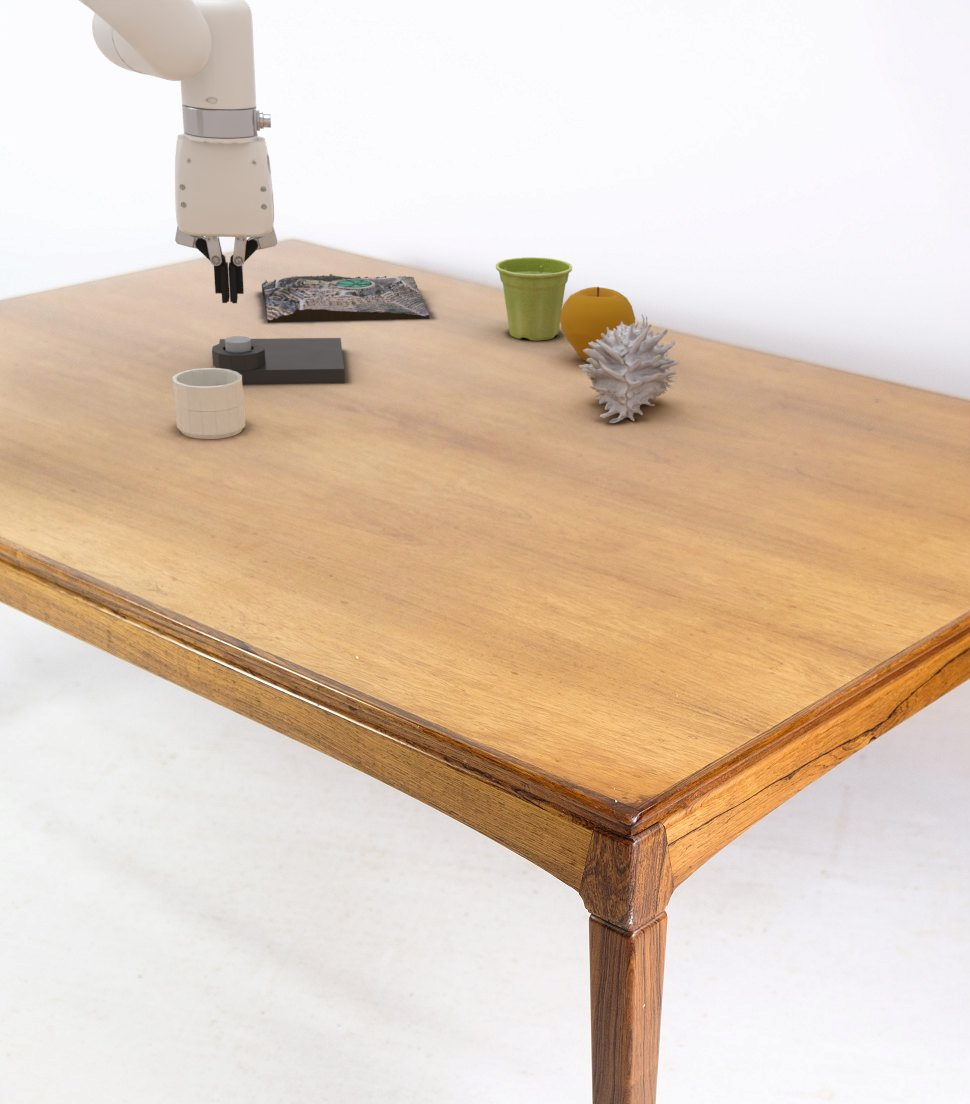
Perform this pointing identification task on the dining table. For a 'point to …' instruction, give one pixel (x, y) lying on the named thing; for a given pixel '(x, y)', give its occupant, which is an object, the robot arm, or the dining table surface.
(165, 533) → the dining table surface
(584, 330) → the apple
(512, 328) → the plant pot
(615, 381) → the spiky white shell
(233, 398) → the white cup
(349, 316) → the terrain model
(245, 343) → the button
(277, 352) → the scale
